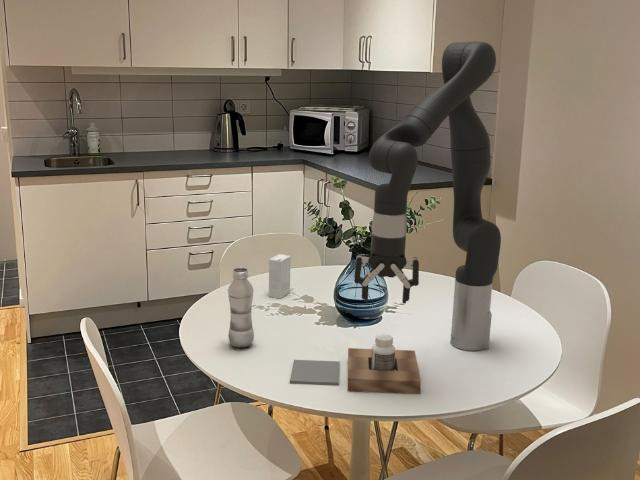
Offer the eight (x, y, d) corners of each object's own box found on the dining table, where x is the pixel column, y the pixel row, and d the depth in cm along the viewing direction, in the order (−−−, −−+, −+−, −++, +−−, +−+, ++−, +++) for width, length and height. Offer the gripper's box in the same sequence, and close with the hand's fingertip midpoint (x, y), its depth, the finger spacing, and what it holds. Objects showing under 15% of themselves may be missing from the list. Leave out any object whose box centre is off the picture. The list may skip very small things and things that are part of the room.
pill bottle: (398, 377, 164) (400, 338, 161) (380, 383, 161) (382, 343, 158) (384, 368, 168) (386, 330, 165) (366, 374, 165) (367, 335, 162)
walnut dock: (414, 361, 172) (414, 350, 171) (420, 393, 156) (420, 381, 155) (347, 359, 172) (348, 348, 171) (347, 390, 157) (347, 378, 156)
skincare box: (278, 290, 218) (278, 253, 215) (290, 293, 216) (291, 255, 213) (267, 296, 213) (267, 258, 209) (280, 299, 211) (280, 260, 207)
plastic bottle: (254, 339, 182) (254, 265, 177) (253, 350, 176) (252, 274, 170) (229, 339, 182) (228, 265, 177) (227, 350, 176) (225, 274, 170)
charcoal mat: (339, 363, 170) (339, 361, 170) (338, 385, 159) (338, 382, 159) (293, 361, 170) (293, 359, 170) (289, 383, 160) (290, 380, 160)
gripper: (420, 229, 158) (415, 297, 163) (356, 226, 159) (353, 294, 163) (423, 238, 151) (418, 309, 155) (356, 235, 152) (353, 306, 156)
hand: (384, 301), depth 159 cm, fingers open, 8 cm apart
